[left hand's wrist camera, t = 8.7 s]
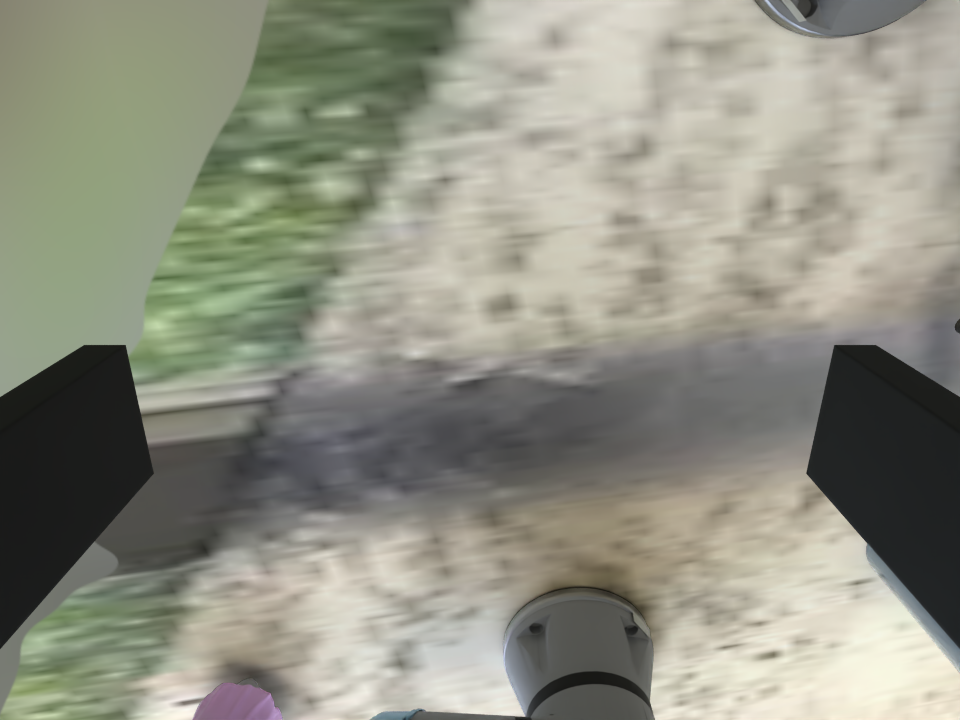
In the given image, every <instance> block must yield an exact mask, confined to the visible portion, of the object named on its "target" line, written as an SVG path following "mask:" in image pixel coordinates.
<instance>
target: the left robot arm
mask: <svg viewBox="0 0 960 720" xmlns="http://www.w3.org/2000/svg"><path fill="white" fill-rule="evenodd" d="M153 474H154V473H153V468H152V464H151V459H150V454H149V450H148V445H147V441H146V436H145V432H144V427H143V422H142V418H141V413H140V409H139V404H138V400H137V395H136V390H135V386H134V381H133V377H132V372H131V368H130V363H129V358H128V354H127V349H126V345H84V346H82V347H80V348H79V349H77V350H76V351H74V352H72V353H71V354H69V355H67V356H66V357H64V358H63V359H61V360H59V361H58V362H56V363H55V364H53V365H51V366H50V367H48V368H47V369H45V370H43V371H42V372H40V373H38V374H37V375H35V376H34V377H32V378H30V379H29V380H27V381H25V382H24V383H22V384H21V385H19V386H18V387H16V388H14V389H13V390H11V391H9V392H8V393H6V394H4V395H3V396H1V397H0V649H1V648H2V646H3V645H4V644H5V643H6V642H7V641H8V639H9V638H10V637H11V636H12V635H13V634H14V633H15V632H16V630H17V629H18V628H19V627H20V626H21V625H22V624H23V622H24V621H25V620H26V619H27V618H28V617H29V615H30V614H31V613H32V612H33V611H34V610H35V609H36V608H37V606H38V605H39V604H40V603H41V602H42V601H43V599H44V598H45V597H46V596H47V595H48V594H49V593H50V592H51V590H52V589H53V588H54V587H55V586H56V585H57V583H58V582H59V581H60V580H61V579H62V578H63V577H64V575H65V574H66V573H67V572H68V571H69V570H70V569H71V567H72V566H73V565H74V564H75V563H76V562H77V561H78V559H79V558H80V557H81V556H82V555H83V554H84V553H85V551H86V550H87V549H88V548H89V547H90V546H91V545H92V543H93V542H94V541H95V540H96V539H97V538H98V537H99V535H100V534H101V533H102V532H103V531H104V530H105V529H106V527H107V526H108V525H109V524H110V523H111V522H112V521H113V519H114V518H115V517H116V516H117V515H118V514H119V513H120V511H121V510H122V509H123V508H124V507H125V506H126V505H127V503H128V502H129V501H130V500H131V499H132V498H133V497H134V495H135V494H136V493H137V492H138V491H139V490H140V489H141V487H142V486H143V485H144V484H145V483H146V482H147V481H148V479H149V478H150V477H151V476H152V475H153ZM806 474H807V475H808V476H809V477H810V478H811V479H812V481H813V482H814V483H815V484H816V485H817V486H818V487H819V489H820V490H821V491H822V492H823V493H824V494H825V495H826V497H827V498H828V499H829V500H830V501H831V502H832V503H833V505H834V506H835V507H836V508H837V509H838V510H839V511H840V513H841V514H842V515H843V516H844V517H845V518H846V519H847V521H848V522H849V523H850V524H851V525H852V526H853V527H854V529H855V530H856V531H857V532H858V533H859V534H860V535H861V537H862V538H863V539H864V540H865V541H866V542H867V543H868V545H869V546H870V547H871V548H872V549H873V550H874V551H875V553H876V554H877V555H878V556H879V557H880V558H881V559H882V561H883V562H884V563H885V564H886V565H887V566H888V567H889V569H890V570H891V571H892V572H893V573H894V574H895V575H896V577H897V578H898V579H899V580H900V581H901V582H902V583H903V585H904V586H905V587H906V588H907V589H908V590H909V592H910V593H911V594H912V595H913V596H914V597H915V598H916V600H917V601H918V602H919V603H920V604H921V605H922V606H923V608H924V609H925V610H926V611H927V612H928V613H929V614H930V616H931V617H932V618H933V619H934V620H935V621H936V622H937V624H938V625H939V626H940V627H941V628H942V629H943V630H944V632H945V633H946V634H947V635H948V636H949V637H950V638H951V640H952V641H953V642H954V643H955V644H956V645H957V646H958V648H959V649H960V397H959V396H957V395H956V394H954V393H952V392H951V391H949V390H947V389H946V388H944V387H943V386H941V385H939V384H938V383H936V382H935V381H933V380H931V379H930V378H928V377H926V376H925V375H923V374H922V373H920V372H918V371H917V370H915V369H914V368H912V367H910V366H909V365H907V364H905V363H904V362H902V361H901V360H899V359H897V358H896V357H894V356H893V355H891V354H889V353H888V352H886V351H884V350H883V349H881V348H880V347H878V346H876V345H834V349H833V354H832V358H831V363H830V368H829V372H828V377H827V381H826V386H825V390H824V395H823V400H822V404H821V409H820V413H819V418H818V422H817V427H816V432H815V436H814V441H813V445H812V450H811V454H810V459H809V464H808V468H807V473H806ZM503 650H504V665H505V669H506V673H507V676H508V678H509V681H510V683H511V685H512V688H513V690H514V692H515V694H516V697H517V699H518V701H519V703H520V705H521V708H522V710H523V712H524V714H525V717H515V716H500V715H481V714H463V713H444V712H426V711H425V710H423V709H417V710H412V711H386V712H382V713H380V714H378V715H377V716H374V717H372V718H371V719H370V720H655V718H654V715H653V711H652V708H651V704H650V692H651V680H652V669H653V644H652V640H651V635H650V629H649V628H648V627H647V624H646V622H645V620H644V618H643V617H642V615H641V614H640V613H639V611H638V610H637V609H636V608H635V607H634V606H633V605H632V604H630V603H629V602H628V601H626V600H625V599H623V598H621V597H619V596H617V595H615V594H612V593H610V592H606V591H603V590H598V589H592V588H569V589H563V590H558V591H554V592H551V593H548V594H545V595H543V596H541V597H539V598H537V599H535V600H533V601H532V602H530V603H528V604H527V605H526V606H525V607H523V608H522V609H521V610H520V611H519V612H518V613H517V614H516V615H515V616H514V618H513V619H512V621H511V622H510V624H509V626H508V628H507V630H506V633H505V637H504V643H503Z"/></svg>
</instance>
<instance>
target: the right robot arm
mask: <svg viewBox="0 0 960 720" xmlns="http://www.w3.org/2000/svg"><path fill="white" fill-rule="evenodd" d="M925 1H926V0H756V2H757V3H758V5H759V6H760V7H761V8H762V9H763V10H764V12H765V13H766V14H768V15H769V16H770V17H771V18H772V19H773V20H775V21H776V22H777V23H779V24H780V25H782V26H784V27H785V28H787V29H789V30H791V31H794V32H796V33H799V34H802V35H806V36H810V37H817V38H838V37H846V36H853V35H858V34H863V33H867V32H870V31H874V30H877V29H879V28H882V27H884V26H887V25H889V24H891V23H893V22H895V21H896V20H898V19H900V18H902V17H903V16H905V15H907V14H908V13H910V12H911V11H913V10H914V9H916V8H917V7H918V6H920V5H921V4H922V3H924V2H925ZM955 330H956V331H957V332H958V333H960V319H959V320H958V321H957V323H956V324H955Z"/></svg>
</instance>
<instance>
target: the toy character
mask: <svg viewBox="0 0 960 720" xmlns="http://www.w3.org/2000/svg"><path fill="white" fill-rule="evenodd" d="M193 720H282V715H281V712H280V709H279V708H278V707H276V708H275V706H274V700H273V698H272V696H271V693H270V692H266V691H264V690H263V689H260V687H259V685H258V683H257V681H256V680H254V679H252V678H248V679H245V680H243V681H241V682H240V683H238V684H234V683H222V684H220V685H219V686H217V687H216V688H215V689H214V690H213V692H212V693H210V694H208V695H207V696H206V697H205V698H204V700H202V701H201V703H200V704H199V706H198V708H197V710H196V712H195V715H194V717H193Z"/></svg>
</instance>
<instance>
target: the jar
mask: <svg viewBox="0 0 960 720" xmlns="http://www.w3.org/2000/svg"><path fill="white" fill-rule="evenodd" d="M866 554H867V559H868V562H869V564H870V565H871V567H872V568H873V569H874V571H875V572H876V573H877V574H878V575H879V577H880V578H881V579H882V580H883V581H884V583H885V584H886V585H887V586H888V587H889V589H890V590H891V591H892V592H893V594H894V595H895V596H896V597H897V598H898V600H899V601H900V602H901V603H902V604H903V606H904V607H905V608H906V609H907V610H908V612H909V613H910V614H911V615H912V617H913V618H914V619H915V620H916V621H917V623H918V624H919V625H920V626H921V627H922V629H923V630H924V631H925V632H926V633H927V635H928V636H929V637H930V638H931V639H932V641H933V642H934V643H935V644H936V646H937V647H938V648H939V649H940V650H941V652H942V653H943V654H944V655H945V656H946V658H947V659H948V660H949V661H950V662H951V664H952V665H953V666H954V667H955V669H956V670H957V671H958V672H959V673H960V649H959V648H958V646H957V645H956V644H955V643H954V642H953V641H952V640H951V638H950V637H949V636H948V635H947V634H946V633H945V632H944V630H943V629H942V628H941V627H940V626H939V625H938V624H937V622H936V621H935V620H934V619H933V618H932V617H931V616H930V614H929V613H928V612H927V611H926V610H925V609H924V608H923V606H922V605H921V604H920V603H919V602H918V601H917V600H916V598H915V597H914V596H913V595H912V594H911V593H910V592H909V590H908V589H907V588H906V587H905V586H904V585H903V583H902V582H901V581H900V580H899V579H898V578H897V577H896V575H895V574H894V573H893V572H892V571H891V570H890V569H889V567H888V566H887V565H886V564H885V563H884V562H883V561H882V559H881V558H880V557H879V556H878V555H877V554H876V553H875V551H874V550H873V549H872V548H871V547H870V546H869V545H868V543H867V548H866Z"/></svg>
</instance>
